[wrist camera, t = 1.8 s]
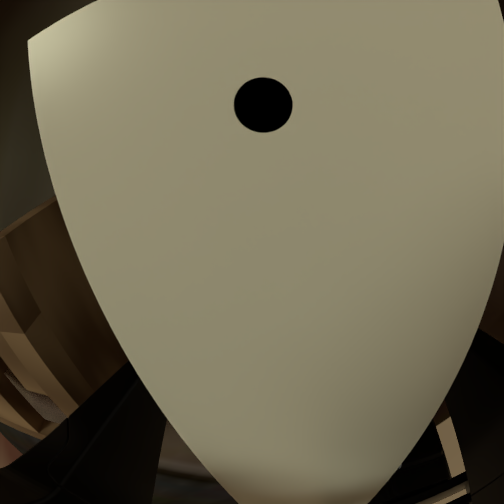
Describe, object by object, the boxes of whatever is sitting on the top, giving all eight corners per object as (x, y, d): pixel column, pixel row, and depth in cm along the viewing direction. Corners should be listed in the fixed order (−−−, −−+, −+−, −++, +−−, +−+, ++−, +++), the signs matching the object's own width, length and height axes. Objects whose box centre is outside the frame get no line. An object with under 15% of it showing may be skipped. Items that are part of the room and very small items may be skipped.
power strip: (332, 62, 7) (495, -6, 1) (339, 383, 14) (360, 511, 7) (197, 78, 8) (28, 40, 1) (261, 391, 14) (257, 521, 8)
